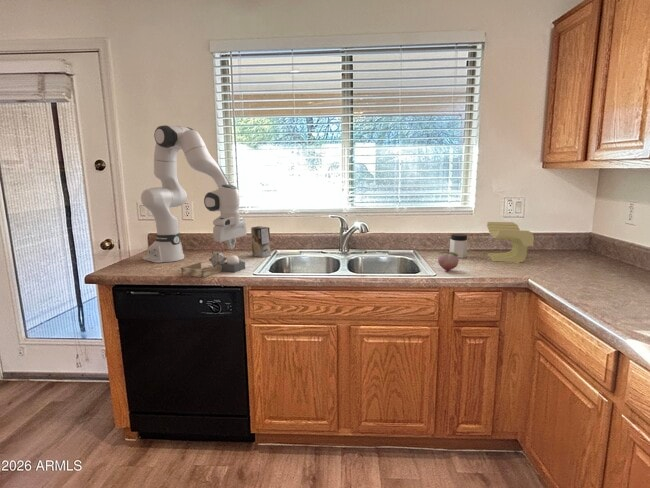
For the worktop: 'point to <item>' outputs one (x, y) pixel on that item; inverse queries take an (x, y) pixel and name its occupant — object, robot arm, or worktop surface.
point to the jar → (459, 244)
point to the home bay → (194, 270)
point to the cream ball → (233, 260)
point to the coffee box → (260, 241)
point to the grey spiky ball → (217, 258)
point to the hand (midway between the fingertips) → (231, 248)
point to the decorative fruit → (448, 260)
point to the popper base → (233, 266)
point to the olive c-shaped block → (515, 235)
